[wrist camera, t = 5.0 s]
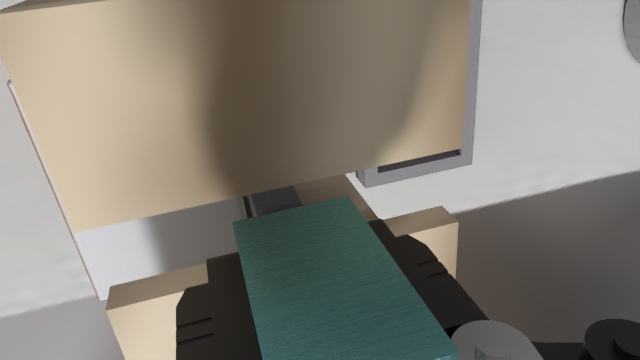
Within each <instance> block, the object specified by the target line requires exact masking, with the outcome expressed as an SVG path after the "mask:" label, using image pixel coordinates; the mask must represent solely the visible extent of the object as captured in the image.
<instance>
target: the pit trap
mask: <svg viewBox="0 0 640 360" xmlns="http://www.w3.org/2000/svg"><path fill="white" fill-rule="evenodd" d="M481 16H482V0H470V10H469V29H468V48H467V67H466V86H465V105H464V124H463V143H462V148H461V149H457V150H452V151H447V152H443V153H438V154H434V155H429V156H424V157H420V158H415V159H411V160H406V161H402V162H397V163H392V164H388V165H383V166H379V167H374V168H369V169H365V170H360V171H356V177H357V178H358V180H359V181H360V182H361V183H362V185H363V186H364V187H365V188H369V187H374V186H378V185H383V184H387V183H392V182H396V181H400V180H405V179H409V178H414V177H418V176H422V175H427V174H431V173H436V172H440V171H444V170H449V169H453V168H458V167H462V166H466V165H471V164H472V156H473V140H474V125H475V109H476V94H477V78H478V63H479V47H480V32H481Z"/></svg>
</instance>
